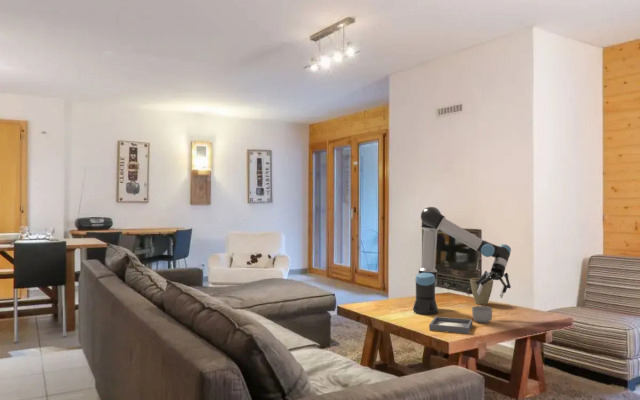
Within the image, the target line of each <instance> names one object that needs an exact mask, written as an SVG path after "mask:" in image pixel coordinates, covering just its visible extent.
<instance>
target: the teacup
mask: <svg viewBox="0 0 640 400" xmlns="http://www.w3.org/2000/svg"><path fill="white" fill-rule="evenodd" d="M471 311H472V318H473V319H472V320H474V321H475V322H477V323H479V324H487V323H490V321H492V319H493V308H492V307H491V306H483V305H476V306H473V307H472V308H471Z"/></svg>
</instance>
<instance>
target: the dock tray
mask: <svg viewBox="0 0 640 400" xmlns="http://www.w3.org/2000/svg"><path fill="white" fill-rule="evenodd" d="M472 327H473V319H471V318H458V317H449V316H448V317H447V316H445V317H444V316H434V317H433V319H432V320H431V322H430V323H429V325H428V330H429V329H430V330H429V331H432V330H439V331H438V332H443V331H448V332H447V333H454V332H456V333H457V334H464V335H465V334H466V335H467V334H470V331H471V329H472Z"/></svg>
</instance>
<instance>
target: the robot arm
mask: <svg viewBox="0 0 640 400" xmlns="http://www.w3.org/2000/svg"><path fill="white" fill-rule="evenodd" d="M420 220H421V229H422V230H423V237H422V238H423V239H422V250H421V251H422V253H421V256H422V257H421V267H420V268H419V269H418V273H417V274H416V275H415V279H414V280H415V301H414V304H413V307H412V312H413V311H414V312H416V313H415V314H417V313H420V314H419V315H426V314H430V315H436V314H438V313H439V308H438V305H437V302H436V287H437V285H438V270H437V269H436V259H437V257H436V256H437V242H438V231H442V232H443V233H445V234H447V235H449V236H450V237H452V238H454V239H455V240H457V241H459V242H460V243H462V244H464V245H466V246H467V247H469V248H471V249H473V250H475V251H476V252H477V253H479V254H481V255H482V256H483V257H485V258H490V257H492V258H494V260H493V262H492V266H491V269H490V271H487V270H485V271H484V273H483V274H482V275H480V277H478V278H479V279H478V280H477V281H476V283H477V285H478V287H477V289H478V291H477V294H478V295H480V292H481V289H482V285H483V284H485V283H487V282H488V281H491V280H493V281H500V283H501V284H502V288H501V290H500V293H499V298H500V299H503V296H504V295H505V293H506V292H507V290H508V289H512V286H511V282H510V280H509V274H508V272H506V273H505V271H506V267H507V265H508V262H509V259H510V257H511V256H510V255H511V252H512V248H511V247H510V246H509V245H508V244H503V243H502V244H500V245H496V244H494V243H492V242H489V241H487V240H484V239H482V238H480V237H478V236H477V235H475V234H473V233H471V232H470V231H468V230H466V229H465V228H463V227H461V226H459V225H457V224H455V223H454V222H452V221H451V220H448V219H447V218H446V216H445V215H443V214H442V213H441V211H440V210H439V209H438V208H437V207H435V206H428V207H426V208H424V209H422V211H421V213H420ZM503 277H504V278H505V280H506V283H505V281H504V279H503ZM414 312H413V313H414Z"/></svg>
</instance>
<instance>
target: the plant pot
mask: <svg viewBox="0 0 640 400" xmlns="http://www.w3.org/2000/svg"><path fill="white" fill-rule="evenodd" d="M479 278H480V277H473V278H470V279H469V282H470V283H469V284H470V289H471V292H472V297H473V299H474V301H475V304H477V305H488V303H489V300H490V298H491V294H492V291H493V287H494V285H493V284H494V280H493V279H492V280H491V281H488V282H487V283H485V284H483V285H482V289H481V292H480V295H478V294H477V291H478V289H477V287H478V285H477V283H476V281H477V280H478V279H479Z"/></svg>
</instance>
